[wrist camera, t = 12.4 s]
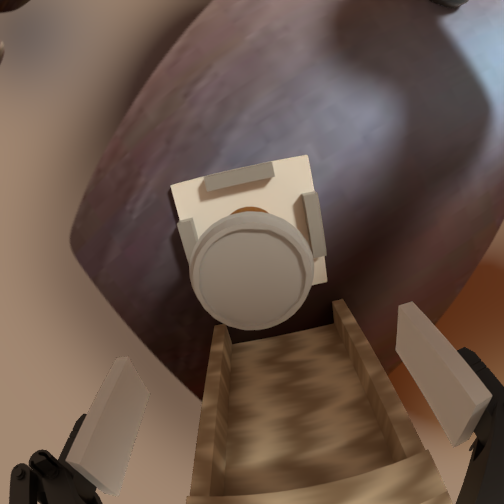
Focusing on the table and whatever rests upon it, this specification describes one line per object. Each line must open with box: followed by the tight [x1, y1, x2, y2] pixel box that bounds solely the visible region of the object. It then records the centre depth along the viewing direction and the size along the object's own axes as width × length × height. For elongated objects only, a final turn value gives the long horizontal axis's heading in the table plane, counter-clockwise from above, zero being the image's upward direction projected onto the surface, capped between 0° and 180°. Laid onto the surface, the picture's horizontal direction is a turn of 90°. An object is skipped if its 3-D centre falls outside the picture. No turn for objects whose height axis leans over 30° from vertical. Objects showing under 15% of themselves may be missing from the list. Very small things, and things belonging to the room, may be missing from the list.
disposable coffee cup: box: [189, 207, 314, 330], centre depth 27 cm, size 10×10×12 cm
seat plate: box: [171, 155, 327, 285], centre depth 32 cm, size 15×15×2 cm
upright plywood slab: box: [186, 299, 453, 504], centre depth 23 cm, size 17×6×30 cm, turn 102°
